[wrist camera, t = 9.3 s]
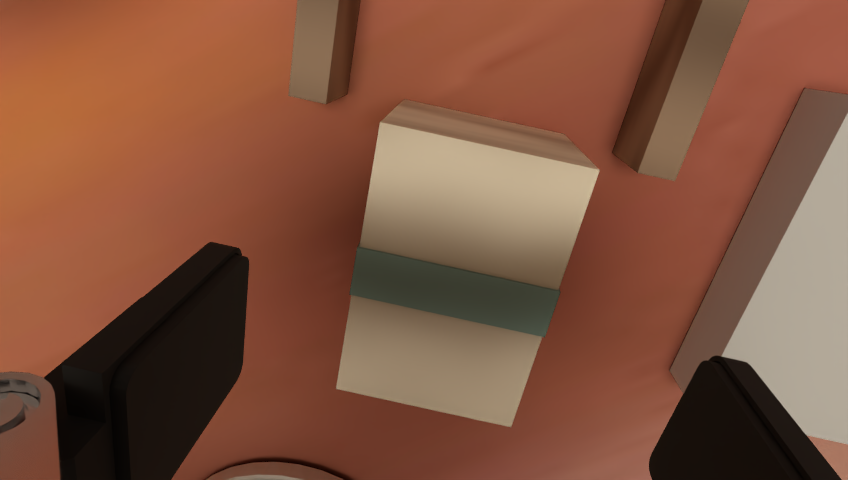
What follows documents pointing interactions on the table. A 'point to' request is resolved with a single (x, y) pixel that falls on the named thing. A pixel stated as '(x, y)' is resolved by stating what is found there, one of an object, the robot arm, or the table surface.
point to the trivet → (789, 276)
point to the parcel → (460, 259)
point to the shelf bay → (651, 101)
